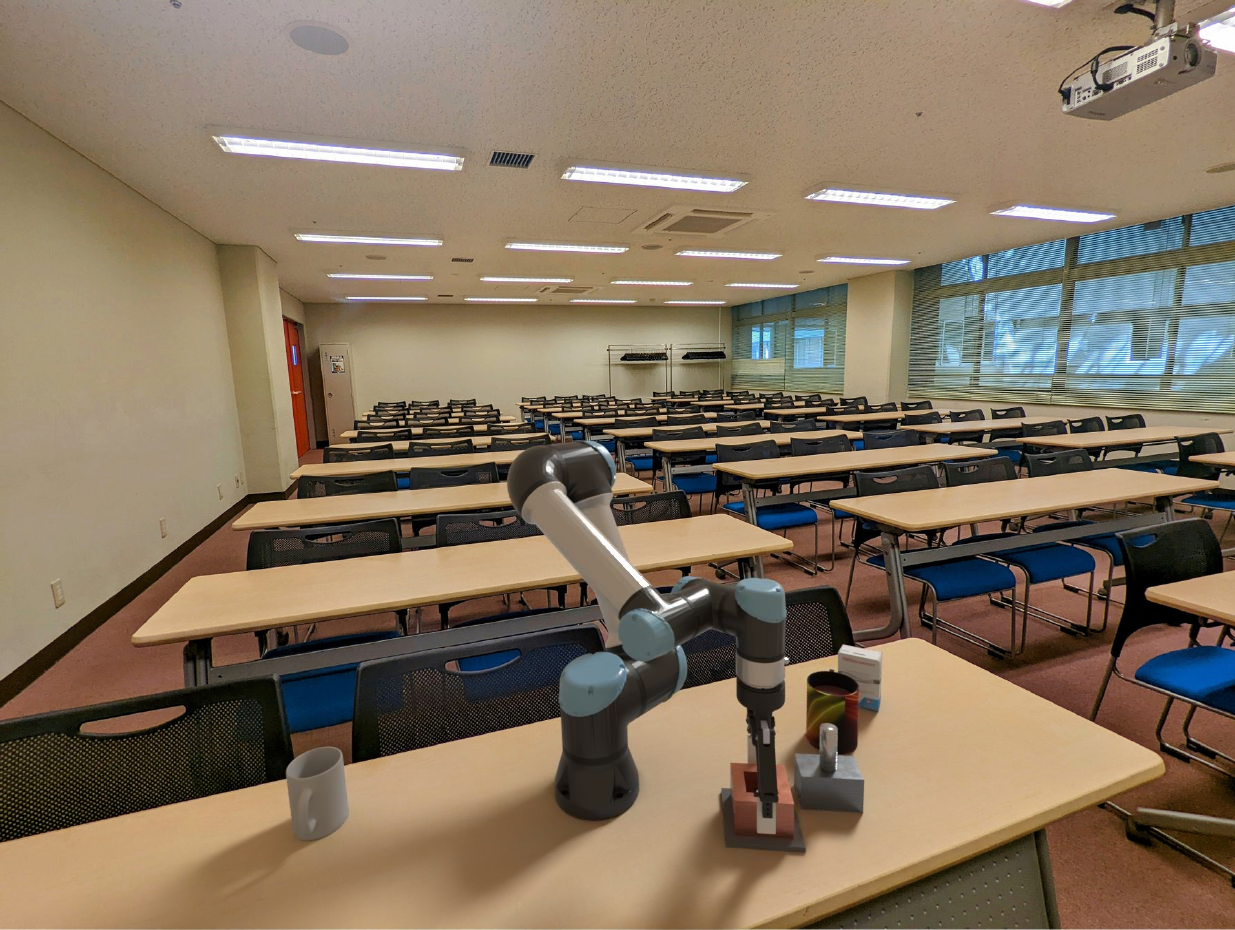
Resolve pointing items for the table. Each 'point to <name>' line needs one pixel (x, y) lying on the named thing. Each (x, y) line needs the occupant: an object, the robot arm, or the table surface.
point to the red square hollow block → (746, 803)
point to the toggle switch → (828, 777)
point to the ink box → (863, 673)
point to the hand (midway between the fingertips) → (760, 799)
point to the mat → (758, 842)
